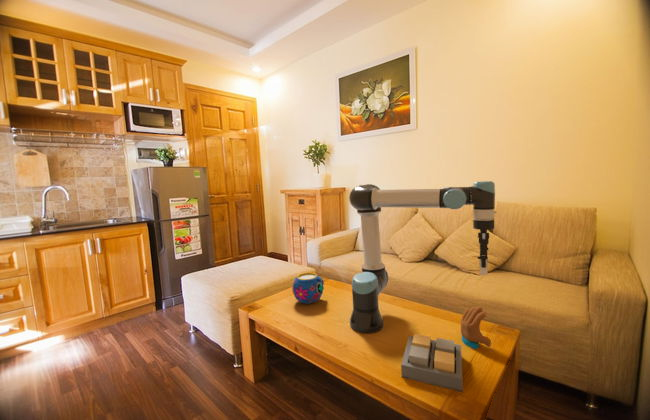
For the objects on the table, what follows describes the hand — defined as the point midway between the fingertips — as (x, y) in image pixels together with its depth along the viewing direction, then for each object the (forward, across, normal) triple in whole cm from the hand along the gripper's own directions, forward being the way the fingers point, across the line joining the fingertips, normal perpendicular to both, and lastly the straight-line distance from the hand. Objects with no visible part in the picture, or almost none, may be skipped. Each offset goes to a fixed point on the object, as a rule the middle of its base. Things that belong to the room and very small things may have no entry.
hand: (483, 269), depth 114 cm
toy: (+27, -11, +3) cm, 30 cm away
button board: (+27, -32, +16) cm, 45 cm away
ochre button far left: (+24, -28, +20) cm, 42 cm away
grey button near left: (+24, -36, +19) cm, 48 cm away
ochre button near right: (+24, -35, +11) cm, 44 cm away
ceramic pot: (+28, -4, +86) cm, 90 cm away
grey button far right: (+24, -27, +12) cm, 39 cm away
